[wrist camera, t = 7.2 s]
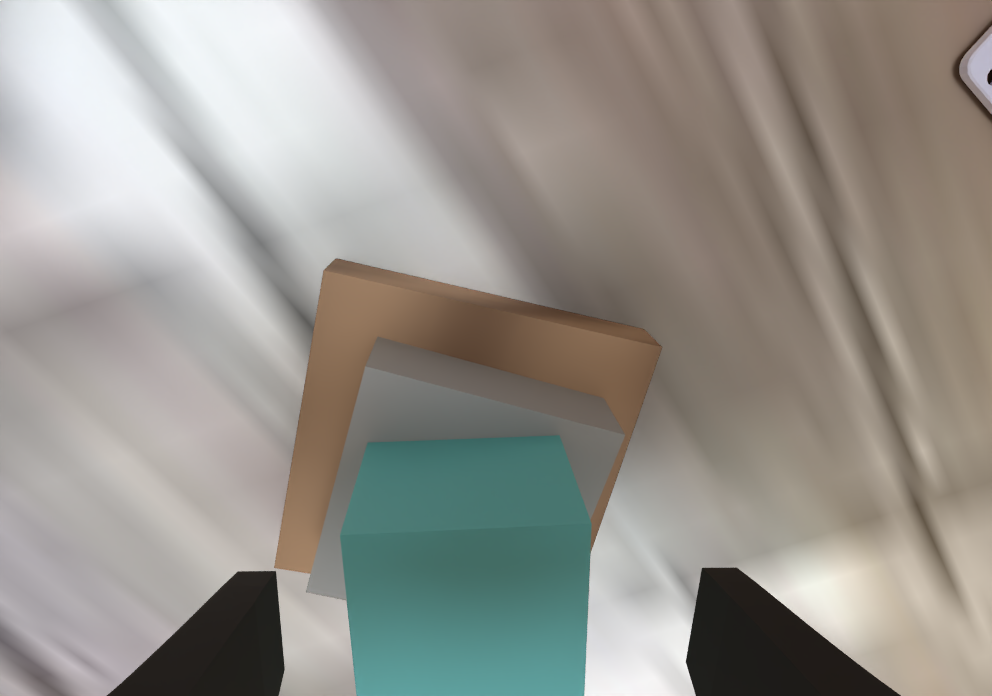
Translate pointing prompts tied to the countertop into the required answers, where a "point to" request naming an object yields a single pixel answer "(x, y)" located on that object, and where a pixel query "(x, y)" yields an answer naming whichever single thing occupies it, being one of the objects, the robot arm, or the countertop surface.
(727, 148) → the countertop surface
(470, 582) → the teal block
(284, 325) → the countertop surface
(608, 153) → the countertop surface
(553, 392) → the grey middle slab
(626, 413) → the walnut base slab
